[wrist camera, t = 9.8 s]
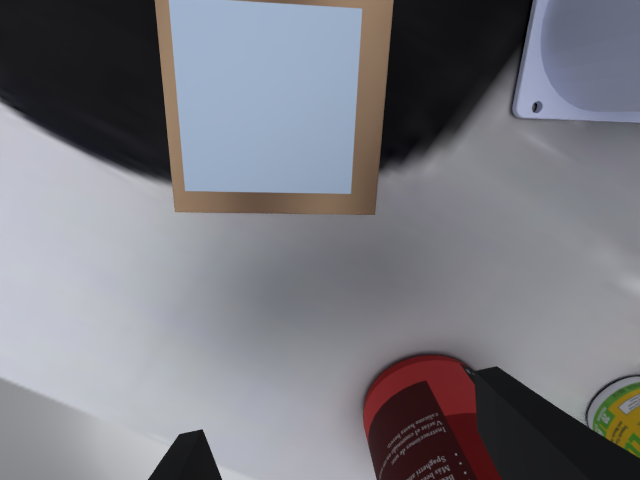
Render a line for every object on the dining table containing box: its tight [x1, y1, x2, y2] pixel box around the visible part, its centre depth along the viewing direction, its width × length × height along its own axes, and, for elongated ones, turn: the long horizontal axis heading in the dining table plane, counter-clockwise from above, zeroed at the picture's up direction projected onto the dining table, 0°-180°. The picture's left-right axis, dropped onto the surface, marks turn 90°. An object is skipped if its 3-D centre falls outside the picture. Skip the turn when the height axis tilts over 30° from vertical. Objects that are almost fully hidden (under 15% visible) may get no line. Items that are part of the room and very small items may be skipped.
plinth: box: [155, 0, 393, 215], centre depth 16 cm, size 9×9×2 cm
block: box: [169, 0, 362, 194], centre depth 12 cm, size 4×4×6 cm
